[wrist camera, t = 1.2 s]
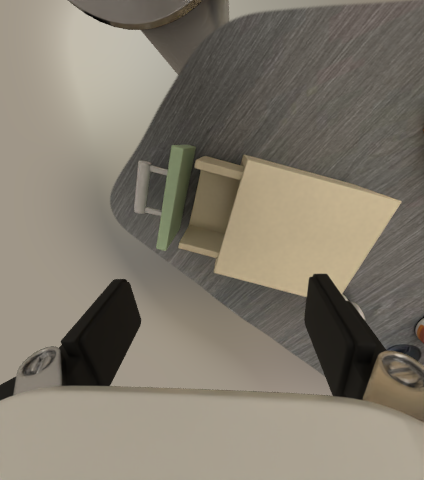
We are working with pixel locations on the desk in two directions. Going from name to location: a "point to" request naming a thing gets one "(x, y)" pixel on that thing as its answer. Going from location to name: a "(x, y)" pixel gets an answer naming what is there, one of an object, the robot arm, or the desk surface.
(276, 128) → the desk surface
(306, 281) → the cabinet
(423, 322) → the pill bottle
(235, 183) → the drawer
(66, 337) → the robot arm
